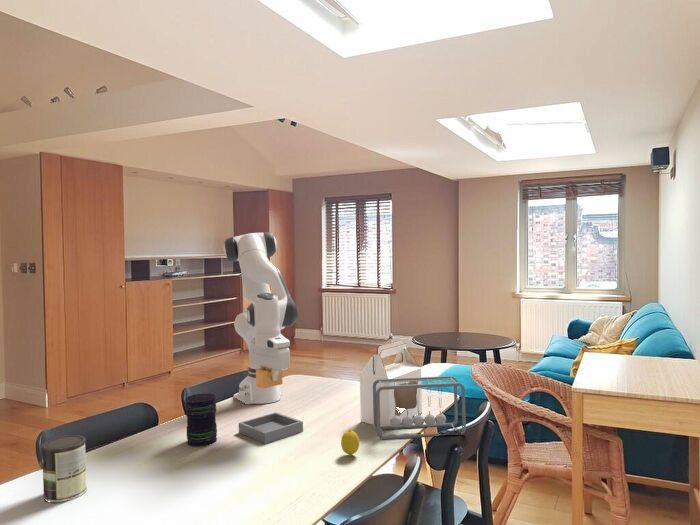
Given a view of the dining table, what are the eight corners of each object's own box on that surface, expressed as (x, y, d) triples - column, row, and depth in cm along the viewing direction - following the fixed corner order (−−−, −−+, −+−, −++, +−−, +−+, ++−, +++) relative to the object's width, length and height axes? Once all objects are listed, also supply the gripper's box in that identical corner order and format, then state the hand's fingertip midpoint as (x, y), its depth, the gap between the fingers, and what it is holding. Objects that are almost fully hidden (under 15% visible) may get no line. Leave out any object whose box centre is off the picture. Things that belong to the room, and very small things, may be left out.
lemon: (361, 453, 160) (361, 427, 160) (356, 460, 155) (355, 433, 155) (344, 451, 162) (344, 426, 162) (338, 458, 157) (338, 432, 157)
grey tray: (238, 432, 182) (238, 422, 182) (276, 421, 193) (275, 412, 193) (265, 443, 170) (264, 433, 170) (303, 431, 182) (302, 421, 182)
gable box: (389, 429, 182) (387, 349, 181) (360, 422, 190) (358, 346, 190) (422, 412, 199) (420, 340, 199) (394, 407, 207) (392, 337, 207)
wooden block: (256, 386, 180) (255, 369, 180) (274, 382, 186) (274, 365, 186) (263, 388, 177) (263, 371, 177) (282, 384, 183) (281, 367, 183)
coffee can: (35, 504, 132) (33, 449, 132) (54, 486, 143) (53, 435, 142) (77, 501, 133) (75, 447, 133) (93, 484, 144) (91, 433, 143)
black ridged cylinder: (223, 438, 177) (222, 395, 176) (203, 448, 168) (202, 402, 168) (200, 434, 181) (199, 392, 181) (180, 444, 172) (178, 400, 172)
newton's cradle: (377, 440, 171) (376, 387, 171) (373, 429, 182) (372, 379, 181) (466, 435, 174) (465, 382, 173) (457, 425, 184) (456, 375, 184)
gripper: (244, 338, 186) (245, 376, 187) (277, 344, 172) (279, 385, 172) (258, 335, 191) (259, 373, 191) (292, 341, 176) (294, 382, 176)
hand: (269, 379), depth 181 cm, fingers closed on wooden block, 4 cm apart
